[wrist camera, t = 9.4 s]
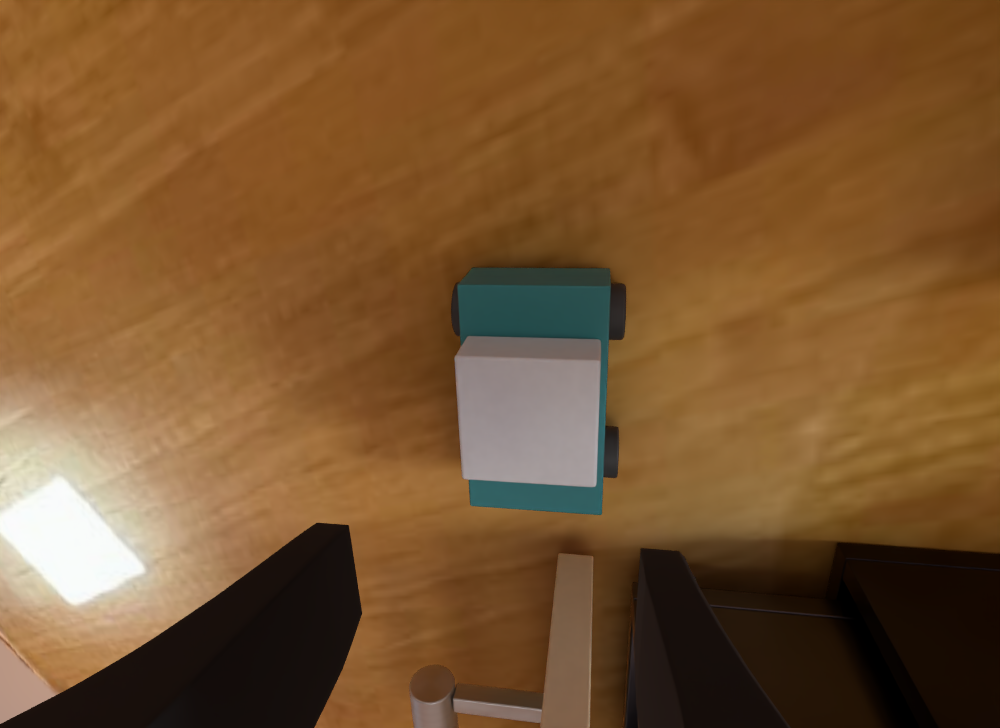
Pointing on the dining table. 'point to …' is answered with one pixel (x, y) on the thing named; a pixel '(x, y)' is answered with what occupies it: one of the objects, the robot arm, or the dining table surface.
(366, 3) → the dining table surface
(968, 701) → the black cabinet
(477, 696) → the drawer
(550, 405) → the toy car
